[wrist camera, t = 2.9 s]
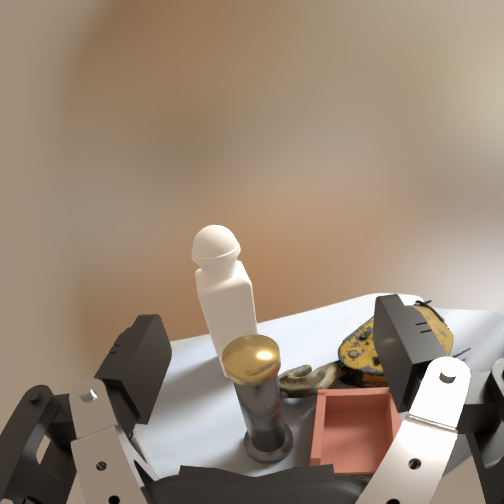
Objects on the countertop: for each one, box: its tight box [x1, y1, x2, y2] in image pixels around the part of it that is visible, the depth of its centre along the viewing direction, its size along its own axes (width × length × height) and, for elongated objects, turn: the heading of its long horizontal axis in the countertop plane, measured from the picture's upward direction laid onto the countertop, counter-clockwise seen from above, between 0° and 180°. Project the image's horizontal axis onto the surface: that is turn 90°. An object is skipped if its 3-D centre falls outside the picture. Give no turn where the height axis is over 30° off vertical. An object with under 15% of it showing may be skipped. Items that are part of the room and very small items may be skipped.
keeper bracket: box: [309, 387, 401, 475], centre depth 28 cm, size 11×11×11 cm
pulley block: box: [278, 300, 470, 398], centre depth 39 cm, size 14×6×30 cm
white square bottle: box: [192, 225, 258, 378], centre depth 41 cm, size 6×6×22 cm
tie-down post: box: [222, 334, 293, 463], centre depth 28 cm, size 6×6×16 cm
